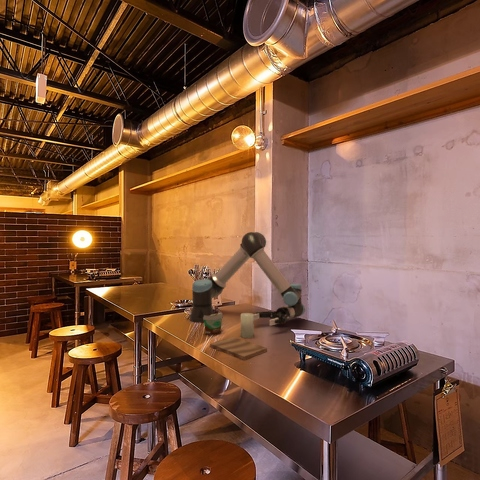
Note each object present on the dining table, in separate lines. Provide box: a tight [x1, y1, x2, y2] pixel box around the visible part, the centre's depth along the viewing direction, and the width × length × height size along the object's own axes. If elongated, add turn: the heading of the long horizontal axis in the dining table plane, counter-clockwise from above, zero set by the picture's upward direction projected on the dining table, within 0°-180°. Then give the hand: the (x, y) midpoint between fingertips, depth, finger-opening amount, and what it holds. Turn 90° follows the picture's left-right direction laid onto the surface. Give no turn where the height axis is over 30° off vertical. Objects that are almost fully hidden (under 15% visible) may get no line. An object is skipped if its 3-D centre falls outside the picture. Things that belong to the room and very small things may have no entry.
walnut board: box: [209, 336, 268, 361], centre depth 141 cm, size 22×14×2 cm, turn 44°
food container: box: [203, 310, 224, 336], centre depth 164 cm, size 12×6×10 cm, turn 143°
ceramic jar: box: [240, 312, 255, 339], centre depth 159 cm, size 6×6×11 cm
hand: (259, 320), depth 166 cm, fingers open, 13 cm apart
